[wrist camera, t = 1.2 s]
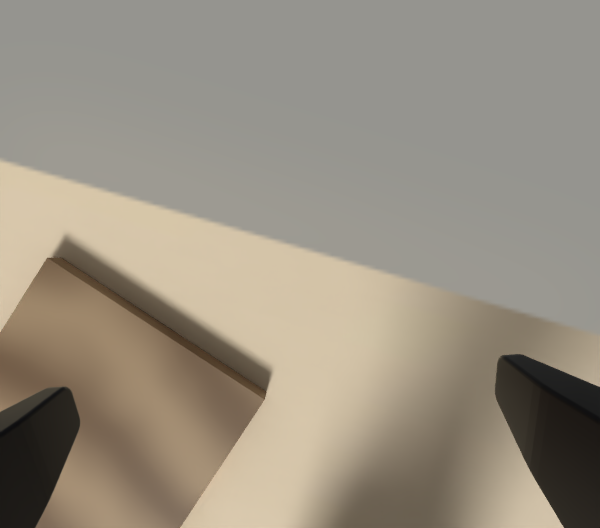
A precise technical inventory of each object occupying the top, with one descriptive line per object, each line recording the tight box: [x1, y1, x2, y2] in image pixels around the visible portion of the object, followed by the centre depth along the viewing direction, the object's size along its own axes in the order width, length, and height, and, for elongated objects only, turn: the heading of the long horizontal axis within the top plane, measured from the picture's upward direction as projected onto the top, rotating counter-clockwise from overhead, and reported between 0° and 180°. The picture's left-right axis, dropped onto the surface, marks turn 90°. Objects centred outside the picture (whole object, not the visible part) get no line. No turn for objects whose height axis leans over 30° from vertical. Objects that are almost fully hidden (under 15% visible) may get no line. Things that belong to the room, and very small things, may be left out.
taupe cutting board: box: [0, 258, 266, 528], centre depth 23 cm, size 14×14×1 cm
